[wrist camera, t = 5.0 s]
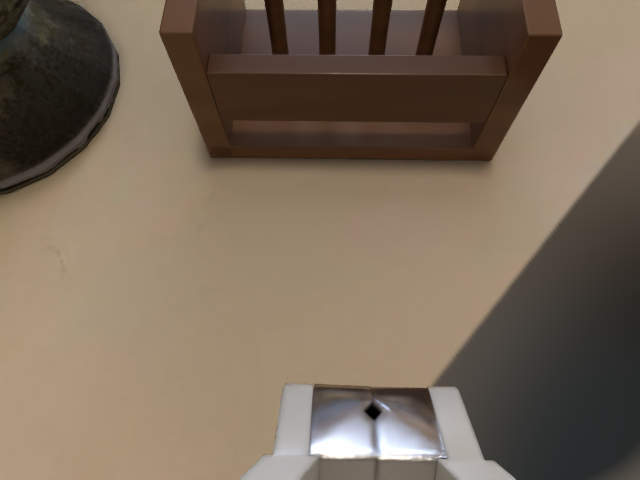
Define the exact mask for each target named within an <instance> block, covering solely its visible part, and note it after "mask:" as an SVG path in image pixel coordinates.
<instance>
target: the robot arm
mask: <svg viewBox="0 0 640 480" xmlns="http://www.w3.org/2000/svg"><path fill="white" fill-rule="evenodd" d="M238 480H516V479H515V478H514V477H513V476H511V475H510V474H509V473H508V472H507V471H505V470H504V469H503V468H502V467H501V466H499V465H498V464H497V463H496V462H495V461H486V460H484V458H483V455H482V452H481V449H480V447H479V444H478V441H477V439H476V436H475V433H474V430H473V428H472V425H471V422H470V420H469V417H468V414H467V411H466V408H465V406H464V403H463V400H462V398H461V395H460V392H459V390H458V389H457V388H456V387H426V388H414V387H370V386H350V385H328V384H314V387H313V385H312V384H297V383H285V385H284V387H283V389H282V396H281V403H280V409H279V416H278V423H277V429H276V436H275V443H274V449H273V455H263V456H262V457H261V458H260V459H259V460H258V461H257V462H256V463H255V464H254V465H253V466H252V467H251V468H250V469H249V470H248V471H247V472H246V473H245V474H244V475H243V476H242V477H241V478H239V479H238Z"/></svg>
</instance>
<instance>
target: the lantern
mask: <svg viewBox="0 0 640 480" xmlns="http://www.w3.org/2000/svg"><path fill="white" fill-rule="evenodd" d="M119 86H120V76H119V55H118V53H117V51H116V49H115V47H114V46H113V44H112V42H111V40H110V38H109V36H108V34H107V32H106V30H105V28H104V26H103V24H102V23H101V22H99V21H98V20H97V19H96V18H94V17H93V16H92V15H91V14H90V13H88V12H87V11H86V10H85V9H83V8H82V7H81V6H80V5H77V4H75V3H73V2H71V1H68V0H0V194H5V193H10V192H12V191H14V190H16V189H19V188H21V187H23V186H25V185H28V184H30V183H32V182H34V181H37V180H39V179H41V178H43V177H46V176H48V175H50V174H52V173H53V172H54V171H56V170H57V169H58V168H59V167H61V166H62V165H63V164H65V163H66V162H67V161H68V160H70V159H71V158H72V157H74V156H75V155H76V154H78V153H79V152H80V151H81V150H83V149H84V148H85V147H86V146H87V144H88V143H89V142H90V141H91V139H92V138H93V137H94V135H95V134H96V133H97V131H98V130H99V129H100V127H101V126H102V125H103V123H104V122H105V121H106V119H107V118H108V117H109V114H110V111H111V109H112V106H113V103H114V100H115V97H116V94H117V92H118V89H119Z"/></svg>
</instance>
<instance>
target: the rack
mask: <svg viewBox="0 0 640 480" xmlns="http://www.w3.org/2000/svg"><path fill="white" fill-rule="evenodd" d="M264 1H265V7H266V10H246V7H245V2H244V0H166V2H165V7H164V12H163V16H162V21H161V26H160V31H159V33H160V36H161V38H162V41H163V43H164V46H165V48H166V50H167V53H168V55H169V58H170V60H171V62H172V65H173V67H174V70H175V72H176V74H177V77H178V79H179V82H180V84H181V87H182V89H183V91H184V94H185V96H186V99H187V101H188V103H189V106H190V108H191V111H192V113H193V115H194V118H195V120H196V123H197V125H198V127H199V130H200V132H201V135H202V137H203V139H204V142H205V144H206V147H207V149H208V151H209V154H210V156H211V157H277V158H359V159H441V160H492V158H493V156H494V155H495V153H496V151H497V149H498V148H499V146H500V144H501V142H502V141H503V139H504V137H505V135H506V134H507V132H508V130H509V128H510V127H511V125H512V123H513V121H514V120H515V118H516V116H517V114H518V112H519V111H520V109H521V107H522V105H523V104H524V102H525V100H526V98H527V97H528V95H529V93H530V91H531V90H532V88H533V86H534V84H535V83H536V81H537V79H538V77H539V76H540V74H541V72H542V70H543V69H544V67H545V65H546V63H547V62H548V60H549V58H550V56H551V55H552V53H553V51H554V49H555V47H556V46H557V44H558V42H559V40H560V39H561V37H562V29H561V25H560V20H559V16H558V11H557V7H556V2H555V0H460V3H459V6H458V10H444V9H445V5H446V1H447V0H427V4H426V9H425V10H391V7H392V0H374V2H373V10H336V0H318V10H284V4H283V0H264Z"/></svg>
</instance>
